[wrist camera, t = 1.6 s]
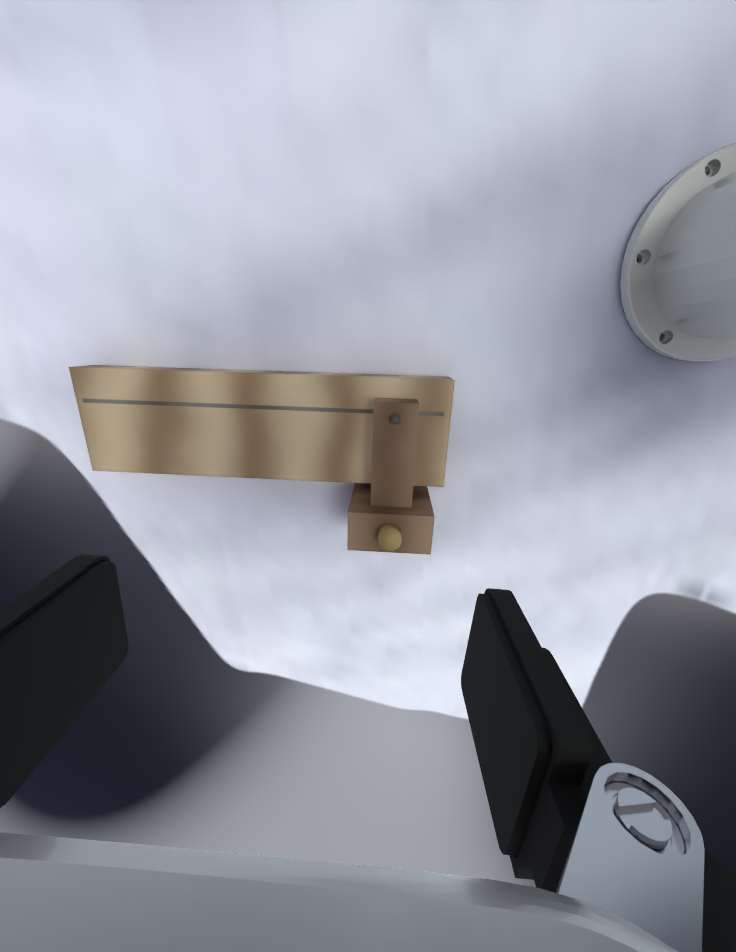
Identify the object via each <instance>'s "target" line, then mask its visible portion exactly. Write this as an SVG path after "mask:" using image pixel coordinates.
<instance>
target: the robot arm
mask: <svg viewBox="0 0 736 952" xmlns="http://www.w3.org/2000/svg"><path fill="white" fill-rule="evenodd" d="M637 256H638V258H639V261H638V262H637ZM620 288H621V299H622V305H623V308H624V312H625V315H626V318H627V320H628V322H629V324H630V326H631V327H632V329H633V331H634V333H635V334H636V335H637V336H638V337H639V338H640V339H641V340H642V341H643V343H644V344H645V345H647V346H648V347H650V348H651V349H653V350H654V351H656V352H657V353H659V354H662V355H665V356H667V357H670V358H673V359H678V360H686V361H707V362H709V361H715V360H722V359H728V358H731V357H734V356H736V143H734V144H731V145H728V146H725V147H723V148H721V149H719V150H717V151H715V152H713V153H711V154H709V155H707V156H705V157H703V158H702V159H700V160H699V161H697V162H696V163H694V164H692V165H691V166H689V167H688V168H686V169H684V170H683V171H682V172H681V173H679V174H678V175H677V176H676V177H675V178H674V179H673V180H671V181H670V182H669V183H668V184H667V185H666V186H665V187H664V188H663V189H662V190H661V191H660V192H659V193H658V195H657V196H656V197H655V198H654V199H653V200H652V202H651V203H650V204H649V205H648V207H647V208H646V210H645V212H644V213H643V215H642V216H641V218H640V219H639V221H638V223H637V224H636V227H635V229H634V231H633V233H632V235H631V238H630V240H629V242H628V244H627V248H626V252H625V256H624V259H623V263H622V270H621V281H620ZM660 335H661V337H660ZM659 337H660V339H659ZM127 652H128V639H127V633H126V627H125V621H124V615H123V609H122V602H121V596H120V590H119V584H118V578H117V573H116V567H115V565H114V563H112V562H110V559H109V558H108V557H106V556H100V555H89V554H80V555H78V556H76V557H75V558H73V559H72V560H70V561H69V562H67V563H66V564H64V565H63V566H62V567H60V568H59V569H57V570H56V571H54V572H53V573H52V574H50V575H48V576H47V577H46V578H44V579H43V580H41V581H40V582H39V583H37V584H35V585H34V586H33V587H31V588H30V589H28V590H27V591H25V592H24V593H22V594H21V595H19V596H18V597H17V598H15V599H14V600H12V601H11V602H9V603H8V604H6V605H5V606H3V607H2V608H0V808H1V807H2V806H3V805H5V804H6V803H7V802H8V801H9V800H10V799H11V797H12V796H13V795H14V794H15V793H16V791H17V790H18V789H19V788H20V786H21V785H22V784H23V783H24V781H25V780H26V779H27V778H28V777H29V775H30V774H31V773H32V772H33V771H34V769H35V768H36V767H37V766H38V765H39V763H40V762H41V761H42V759H43V758H44V757H45V756H46V755H47V753H48V752H49V751H50V750H51V749H52V747H53V746H54V745H55V744H56V743H57V741H58V740H59V739H60V738H61V736H62V735H63V734H64V733H65V732H66V730H67V729H68V728H69V727H70V726H71V724H72V723H73V722H74V721H75V719H76V718H77V717H78V716H79V715H80V713H81V712H82V711H83V709H84V708H85V707H86V706H87V705H88V703H89V702H90V701H91V700H92V699H93V697H94V696H95V695H96V694H97V692H98V691H99V690H100V689H101V688H102V686H103V685H104V684H105V683H106V682H107V680H108V679H109V678H110V677H111V675H112V674H113V673H114V672H115V671H116V669H117V668H118V667H119V666H120V665H121V663H122V662H123V661H124V659H125V657H126V655H127ZM461 687H462V692H463V697H464V701H465V705H466V709H467V714H468V718H469V722H470V726H471V730H472V735H473V739H474V743H475V747H476V752H477V756H478V760H479V764H480V768H481V773H482V777H483V781H484V785H485V789H486V794H487V798H488V802H489V806H490V811H491V815H492V819H493V823H494V827H495V832H496V836H497V840H498V844H499V848H500V850H501V852H502V853H503V854H504V855H510V859H511V862H512V867H513V871H514V875H515V878H522V879H533V880H534V881H535V884H536V888H534V887H529V886H524V885H518V884H513V883H507V882H502V881H496V880H490V879H482V878H474V877H465V876H457V875H449V874H440V873H431V872H423V871H415V870H406V869H398V868H387V867H377V866H366V865H356V864H346V863H335V862H325V861H314V860H304V859H293V858H283V857H272V856H262V855H252V854H239V853H229V852H218V851H206V850H196V849H185V848H173V847H163V846H151V845H140V844H129V843H117V842H105V841H93V840H83V839H82V840H81V839H72V838H59V837H46V836H35V835H23V834H11V833H0V952H736V872H734V871H733V870H732V869H730V868H729V867H727V866H726V865H725V864H723V863H722V862H721V861H719V860H718V859H717V858H715V857H714V856H713V855H711V854H710V853H709V852H707V851H706V850H704V845H703V839H702V835H701V832H700V830H699V828H698V826H697V824H696V822H695V820H694V818H693V817H692V815H691V814H690V813H689V811H688V810H687V808H686V807H685V806H684V804H683V803H682V802H681V801H680V800H679V799H678V798H677V797H676V796H675V795H674V794H673V793H672V792H671V791H670V790H669V789H668V788H667V787H666V786H665V785H663V784H662V783H661V782H659V781H658V780H657V779H655V778H654V777H653V776H651V775H649V774H647V773H646V772H644V771H642V770H640V769H638V768H636V767H633V766H629V765H626V764H622V763H612V761H611V760H610V758H609V756H608V754H607V752H606V751H605V749H604V747H603V745H602V743H601V742H600V740H599V738H598V736H597V734H596V733H595V731H594V729H593V727H592V725H591V724H590V722H589V720H588V718H587V716H586V715H585V713H584V711H583V709H582V707H581V706H580V704H579V702H578V700H577V698H576V697H575V695H574V693H573V691H572V689H571V688H570V686H569V684H568V682H567V680H566V679H565V677H564V675H563V673H562V672H561V670H560V668H559V666H558V664H557V663H556V661H555V659H554V657H553V656H552V654H551V653H550V651H549V650H547V649H546V648H542V647H541V646H540V644H539V642H538V640H537V638H536V636H535V634H534V632H533V631H532V629H531V627H530V625H529V623H528V621H527V619H526V618H525V616H524V614H523V612H522V610H521V608H520V606H519V604H518V603H517V601H516V599H515V597H514V595H513V593H512V592H511V591H510V590H501V589H489V588H488V589H486V591H485V593H484V594H479V595H478V597H477V601H476V606H475V611H474V615H473V620H472V625H471V630H470V635H469V640H468V645H467V650H466V655H465V660H464V664H463V669H462V675H461Z"/></svg>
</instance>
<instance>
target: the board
mask: <svg viewBox="0 0 736 952" xmlns="http://www.w3.org/2000/svg"><path fill="white" fill-rule="evenodd" d="M69 370H70V374H71V378H72V383H73V387H74V391H75V396H76V400H77V404H78V409H79V413H80V417H81V422H82V426H83V430H84V435H85V439H86V443H87V448H88V452H89V457H90V461H91V465H92V470H93V471H114V472H135V473H157V474H178V475H199V476H221V477H242V478H263V479H285V480H306V481H328V482H349V483H370V484H371V471H372V440H373V410H374V400H375V398H398V399H417V400H418V402H419V414H418V427H417V441H416V454H415V468H414V482H413V486H434V487H444V477H445V467H446V458H447V448H448V438H449V428H450V418H451V409H452V399H453V389H454V380H453V379H452V378H450V377H431V376H401V375H372V374H342V373H312V372H282V371H253V370H223V369H193V368H164V367H134V366H104V365H90V366H77V367H69Z"/></svg>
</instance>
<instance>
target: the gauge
mask: <svg viewBox="0 0 736 952" xmlns="http://www.w3.org/2000/svg"><path fill="white" fill-rule="evenodd" d="M418 414H419V402H418V400H417V399H398V398H375V400H374V410H373V440H372V471H371V484H370V483H355V487H354V491H353V495H352V498H351V502H350V506H349V510H348V550H359V551H377V552H395V553H414V554H431V545H432V535H433V525H434V514H433V509H432V505H431V501H430V497H429V493H428V489H427V486H413V482H414V468H415V454H416V441H417V427H418Z"/></svg>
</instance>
